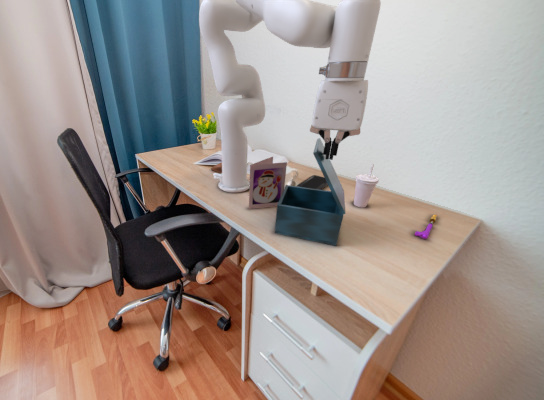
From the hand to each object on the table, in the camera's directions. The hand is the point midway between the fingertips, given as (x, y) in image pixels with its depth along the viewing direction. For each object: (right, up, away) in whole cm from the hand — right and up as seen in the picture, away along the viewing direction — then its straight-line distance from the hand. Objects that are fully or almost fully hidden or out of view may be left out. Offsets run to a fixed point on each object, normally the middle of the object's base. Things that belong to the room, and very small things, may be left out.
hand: (329, 157), depth 59 cm
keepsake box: (-2, -18, +10) cm, 21 cm away
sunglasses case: (-23, +5, +56) cm, 61 cm away
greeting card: (-12, -12, +23) cm, 29 cm away
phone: (+10, -5, +35) cm, 36 cm away
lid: (+1, -4, +2) cm, 4 cm away
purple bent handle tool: (+31, -18, +9) cm, 37 cm away
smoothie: (+19, -12, +21) cm, 31 cm away
